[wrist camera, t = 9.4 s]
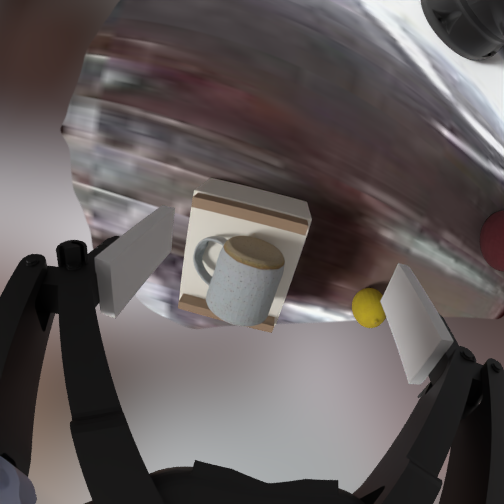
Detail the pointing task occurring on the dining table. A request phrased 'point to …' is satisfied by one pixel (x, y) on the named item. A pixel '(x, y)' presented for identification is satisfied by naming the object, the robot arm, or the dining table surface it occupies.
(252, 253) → the ceramic mug
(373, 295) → the lemon
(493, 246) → the decorative ball
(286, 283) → the display stand
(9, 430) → the robot arm
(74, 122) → the dining table surface
